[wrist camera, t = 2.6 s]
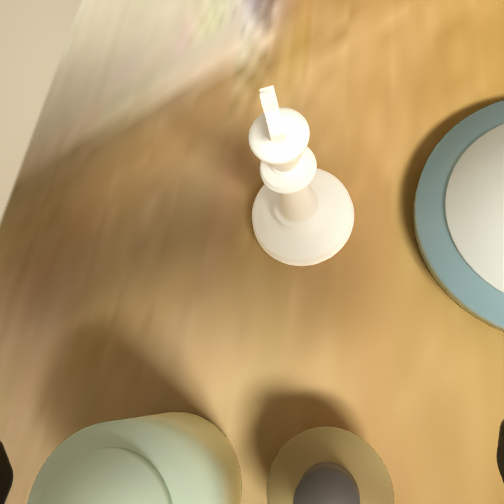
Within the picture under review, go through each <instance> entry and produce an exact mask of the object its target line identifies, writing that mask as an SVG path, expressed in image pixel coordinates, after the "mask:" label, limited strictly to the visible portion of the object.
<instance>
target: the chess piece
mask: <svg viewBox="0 0 504 504" xmlns="http://www.w3.org/2000/svg"><path fill="white" fill-rule="evenodd" d="M259 90H260V98H261V103H262V107H263V110H264V113H262V114H261V115H260V116H258V117H257V118H256V120H255V121H254V122H253V124H252V126H251V128H250V131H249V145H250V148H251V150H252V152H253V153H254V154H255V156H256V157H257V158H259V159H260V160H261V164H260V175H261V178H262V180H263V182H264V185H263V187H262V188H261V189H260V191H259V192H258V194H257V196H256V198H255V201H254V204H253V209H252V224H253V230H254V233H255V236H256V239H257V241H258V242H259V244H260V246H261V247H262V248H263V249H264V251H265V252H266V253H267V254H269V255H270V256H271V257H273V258H274V259H276V260H278V261H280V262H282V263H285V264H288V265H293V266H309V265H314V264H318V263H321V262H323V261H325V260H327V259H329V258H331V257H332V256H334V255H335V254H336V253H337V252H338V251H339V250H340V249H341V248H342V247H343V246H344V245H345V243H346V242H347V240H348V238H349V236H350V234H351V232H352V229H353V224H354V208H353V204H352V201H351V198H350V196H349V193H348V191H347V190H346V188H345V187H344V185H343V184H342V183H341V182H340V181H339V180H338V179H337V178H336V177H335V176H333V175H332V174H330V173H328V172H326V171H324V170H322V169H318V168H316V167H317V164H316V159H315V156H314V154H313V152H312V151H311V150H310V149H309V148H308V147H307V145H308V142H309V136H310V131H309V126H308V123H307V121H306V120H305V118H304V117H303V116H302V115H301V114H300V113H299V112H297V111H295V110H293V109H290V108H284V107H279V106H278V102H277V98H276V94H275V90H274V86H273V85H272V86H269V87H266V88H262V89H259Z"/></svg>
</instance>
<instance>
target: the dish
mask: <svg viewBox="0 0 504 504" xmlns="http://www.w3.org/2000/svg"><path fill="white" fill-rule="evenodd" d="M413 223H414V230H415V236H416V240H417V244H418V247H419V250H420V253H421V255H422V257H423V260H424V262H425V264H426V266H427V268H428V269H429V271H430V273H431V274H432V276H433V277H434V279H435V280H436V282H437V283H438V284H439V285H440V287H441V288H442V289H443V290H444V291H445V292H446V294H447V295H448V296H449V297H450V298H451V299H453V300H454V301H455V302H456V303H457V304H458V305H459V306H460V307H461V308H463V309H464V310H466V311H467V312H468V313H470V314H471V315H472V316H474V317H475V318H477V319H479V320H481V321H482V322H484V323H486V324H488V325H489V326H491V327H493V328H496V329H498V330H501V331H503V332H504V100H502V101H499V102H496V103H494V104H491V105H489V106H486V107H484V108H482V109H480V110H478V111H476V112H474V113H473V114H471V115H469V116H468V117H466V118H465V119H463V120H462V121H461V122H459V123H458V124H456V125H455V126H454V127H453V128H452V129H451V130H450V131H449V132H448V133H447V134H446V135H445V136H444V137H443V138H442V139H441V140H440V142H439V143H438V144H437V145H436V147H435V148H434V150H433V151H432V153H431V155H430V156H429V158H428V160H427V162H426V164H425V166H424V169H423V171H422V173H421V176H420V179H419V183H418V186H417V190H416V193H415V199H414V207H413Z"/></svg>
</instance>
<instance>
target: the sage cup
mask: <svg viewBox="0 0 504 504" xmlns="http://www.w3.org/2000/svg"><path fill="white" fill-rule="evenodd" d="M241 492H242V479H241V471H240V466H239V463H238V459H237V456H236V454H235V452H234V449H233V447H232V446H231V444H230V442H229V441H228V439H227V438H226V437H225V435H224V434H223V433H222V432H221V431H220V430H219V429H218V428H217V427H216V426H215V425H214V424H212V423H211V422H210V421H208V420H206V419H204V418H203V417H200V416H198V415H195V414H191V413H187V412H168V413H161V414H155V415H148V416H141V417H135V418H128V419H121V420H114V421H108V422H102V423H97V424H94V425H91V426H88V427H85V428H83V429H81V430H79V431H78V432H76V433H74V434H73V435H71V436H70V437H68V438H67V439H66V440H64V441H63V442H62V443H61V444H60V445H59V446H58V447H57V448H56V449H55V450H54V451H53V452H52V454H51V455H50V456H49V457H48V459H47V460H46V462H45V463H44V464H43V466H42V468H41V469H40V471H39V473H38V475H37V477H36V479H35V482H34V484H33V487H32V489H31V492H30V496H29V499H28V503H27V504H240V501H241Z"/></svg>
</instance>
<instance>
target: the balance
mask: <svg viewBox="0 0 504 504" xmlns="http://www.w3.org/2000/svg"><path fill="white" fill-rule="evenodd" d="M267 504H394V492H393V486H392V482H391V479H390V475H389V473H388V471H387V468H386V466H385V464H384V463H383V461H382V459H381V458H380V456H379V455H378V454H377V452H376V451H375V450H374V449H373V448H372V447H371V446H370V445H369V444H368V443H367V442H366V441H365V440H363V439H362V438H361V437H359V436H357V435H356V434H354V433H352V432H350V431H347V430H344V429H341V428H337V427H328V426H322V427H315V428H310V429H307V430H305V431H302V432H300V433H298V434H297V435H295V436H294V437H292V438H291V439H290V440H288V441H287V442H286V443H285V444H284V445H283V447H282V448H281V449H280V451H279V452H278V453H277V455H276V457H275V459H274V461H273V463H272V465H271V468H270V471H269V475H268V481H267Z"/></svg>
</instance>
